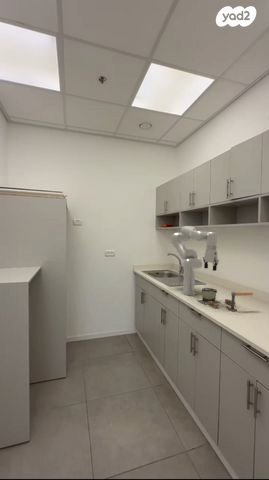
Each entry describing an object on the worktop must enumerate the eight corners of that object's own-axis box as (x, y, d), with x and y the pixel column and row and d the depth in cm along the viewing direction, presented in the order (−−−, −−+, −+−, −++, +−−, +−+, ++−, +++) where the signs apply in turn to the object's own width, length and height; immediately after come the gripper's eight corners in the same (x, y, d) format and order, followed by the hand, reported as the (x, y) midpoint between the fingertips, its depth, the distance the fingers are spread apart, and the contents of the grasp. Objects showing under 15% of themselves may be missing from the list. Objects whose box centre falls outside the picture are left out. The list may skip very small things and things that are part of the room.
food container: (215, 300, 184) (215, 288, 184) (216, 302, 178) (217, 290, 178) (199, 299, 186) (200, 287, 185) (200, 301, 180) (201, 289, 179)
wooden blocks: (208, 305, 173) (208, 291, 173) (227, 302, 181) (227, 289, 180) (224, 312, 158) (225, 298, 158) (244, 309, 166) (245, 295, 165)
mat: (196, 300, 183) (196, 300, 183) (211, 299, 188) (211, 298, 188) (205, 305, 173) (205, 304, 173) (220, 303, 179) (220, 302, 179)
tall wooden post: (250, 294, 167) (250, 291, 167) (253, 295, 164) (253, 292, 164) (230, 295, 164) (230, 291, 164) (232, 296, 162) (232, 292, 161)
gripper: (223, 248, 172) (221, 271, 173) (207, 246, 188) (206, 267, 189) (215, 249, 169) (214, 271, 170) (200, 246, 185) (199, 267, 186)
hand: (210, 269), depth 180 cm, fingers open, 9 cm apart
